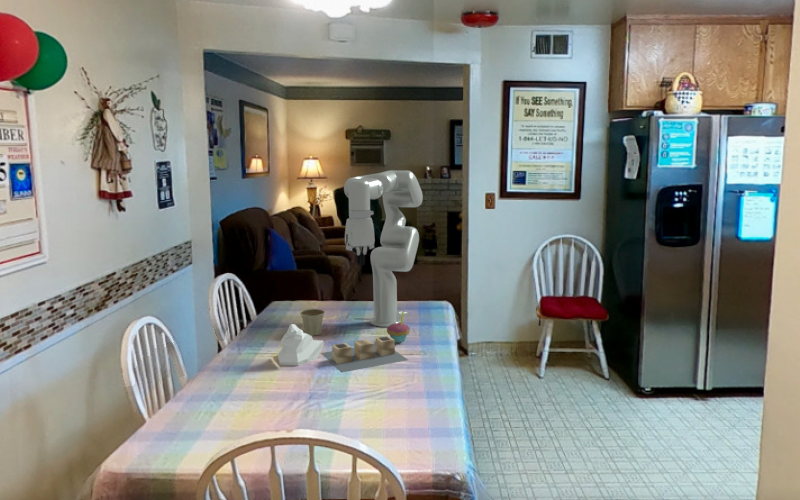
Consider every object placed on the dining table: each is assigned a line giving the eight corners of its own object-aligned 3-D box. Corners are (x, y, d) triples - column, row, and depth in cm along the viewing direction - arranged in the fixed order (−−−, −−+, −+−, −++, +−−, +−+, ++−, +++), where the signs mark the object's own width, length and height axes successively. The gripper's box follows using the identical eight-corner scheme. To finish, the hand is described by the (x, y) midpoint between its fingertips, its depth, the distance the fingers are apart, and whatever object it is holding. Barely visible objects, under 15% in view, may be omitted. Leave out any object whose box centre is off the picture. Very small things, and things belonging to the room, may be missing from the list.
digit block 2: (388, 349, 206) (388, 335, 206) (394, 353, 202) (394, 339, 201) (375, 351, 204) (375, 337, 203) (381, 356, 200) (381, 341, 199)
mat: (383, 344, 214) (383, 342, 214) (408, 361, 196) (408, 359, 196) (321, 354, 203) (321, 353, 203) (341, 374, 186) (341, 372, 186)
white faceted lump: (314, 372, 191) (305, 335, 186) (272, 373, 195) (262, 337, 189) (325, 350, 203) (317, 315, 197) (285, 351, 206) (276, 317, 200)
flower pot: (323, 337, 222) (322, 315, 221) (298, 337, 222) (298, 315, 221) (327, 330, 231) (326, 309, 230) (303, 330, 231) (302, 309, 230)
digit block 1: (346, 356, 199) (345, 342, 199) (351, 361, 195) (351, 346, 194) (332, 359, 197) (332, 344, 196) (337, 363, 193) (337, 348, 192)
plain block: (367, 353, 203) (367, 339, 202) (373, 357, 199) (373, 343, 198) (354, 355, 201) (354, 341, 200) (360, 360, 196) (359, 345, 196)
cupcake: (410, 338, 220) (410, 307, 218) (408, 345, 212) (408, 314, 210) (388, 337, 221) (387, 307, 219) (385, 345, 213) (384, 313, 211)
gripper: (374, 212, 215) (375, 261, 218) (336, 215, 208) (337, 265, 212) (383, 214, 208) (383, 265, 212) (343, 217, 202) (345, 269, 205)
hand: (360, 265), depth 212 cm, fingers closed
